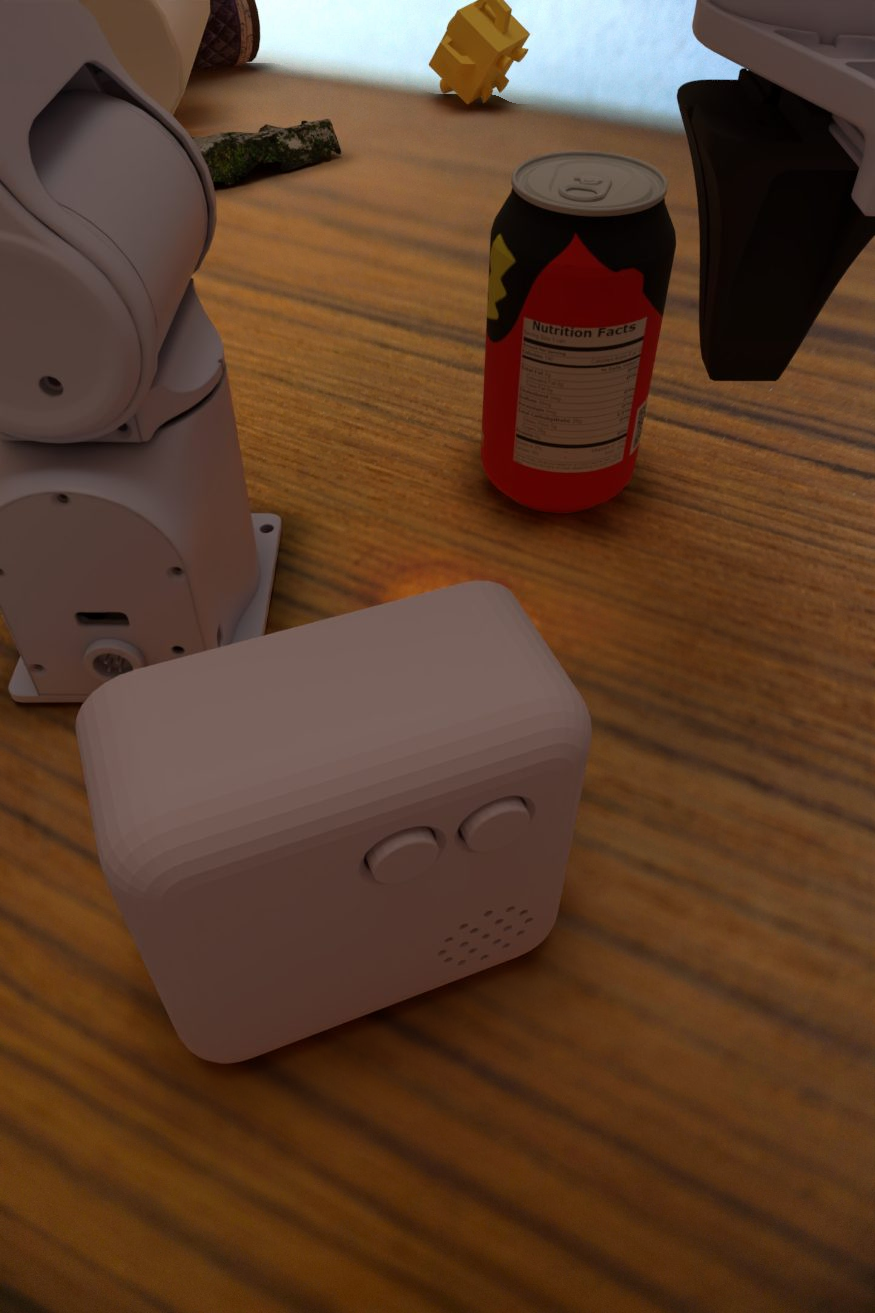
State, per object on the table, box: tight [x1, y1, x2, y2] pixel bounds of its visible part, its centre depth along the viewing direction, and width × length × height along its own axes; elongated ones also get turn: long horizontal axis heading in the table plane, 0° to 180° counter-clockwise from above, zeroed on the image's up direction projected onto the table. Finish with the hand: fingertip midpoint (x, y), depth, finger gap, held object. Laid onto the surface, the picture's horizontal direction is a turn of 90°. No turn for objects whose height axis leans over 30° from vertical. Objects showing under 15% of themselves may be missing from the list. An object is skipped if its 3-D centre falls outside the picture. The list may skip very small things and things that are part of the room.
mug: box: [190, 0, 261, 74], centre depth 77 cm, size 10×7×12 cm
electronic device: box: [74, 580, 593, 1064], centre depth 22 cm, size 10×5×10 cm, turn 112°
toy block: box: [428, 0, 531, 105], centre depth 72 cm, size 8×8×6 cm
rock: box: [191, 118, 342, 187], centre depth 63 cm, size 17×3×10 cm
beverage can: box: [480, 149, 677, 514], centre depth 36 cm, size 6×6×12 cm
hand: (739, 369), depth 28 cm, fingers closed
